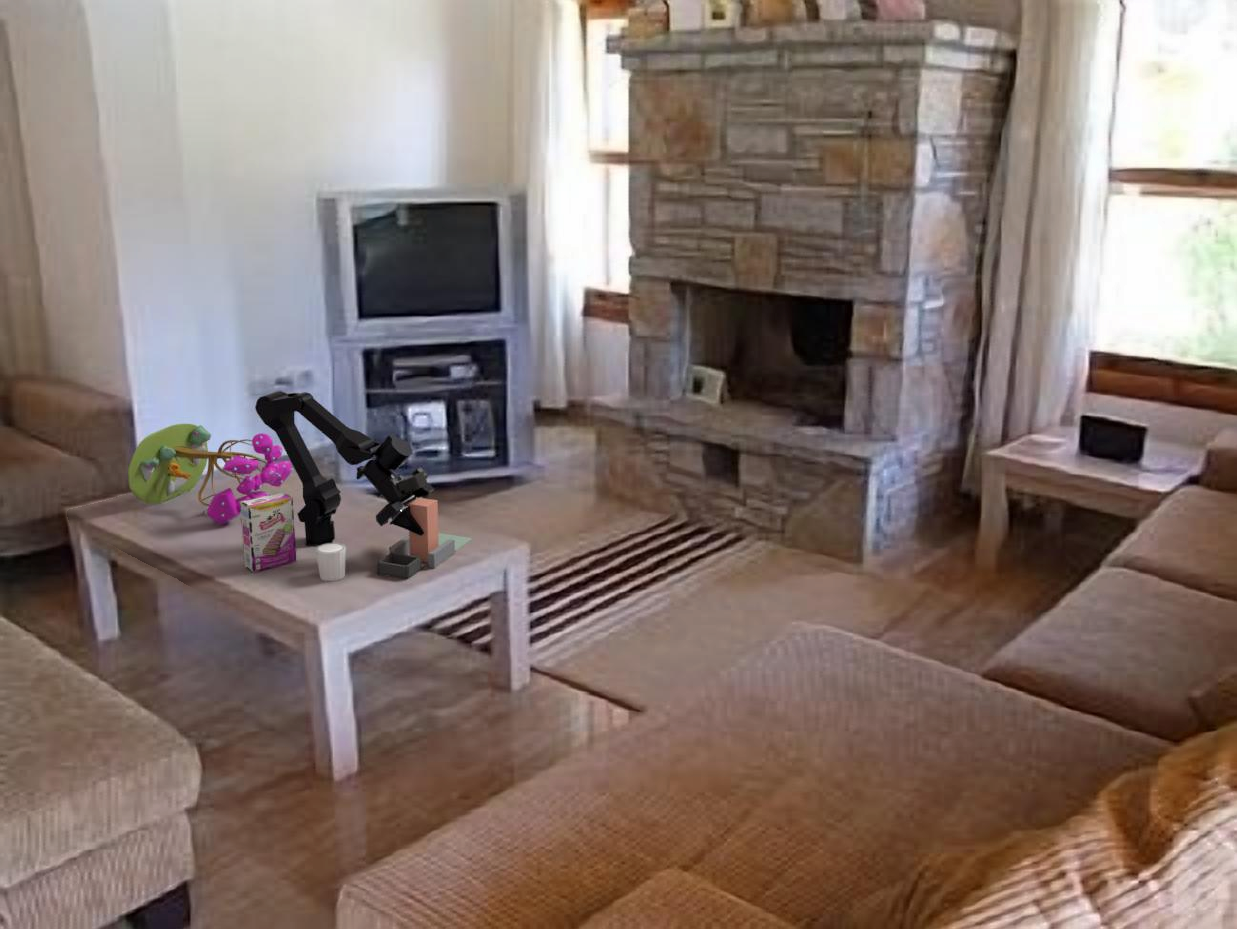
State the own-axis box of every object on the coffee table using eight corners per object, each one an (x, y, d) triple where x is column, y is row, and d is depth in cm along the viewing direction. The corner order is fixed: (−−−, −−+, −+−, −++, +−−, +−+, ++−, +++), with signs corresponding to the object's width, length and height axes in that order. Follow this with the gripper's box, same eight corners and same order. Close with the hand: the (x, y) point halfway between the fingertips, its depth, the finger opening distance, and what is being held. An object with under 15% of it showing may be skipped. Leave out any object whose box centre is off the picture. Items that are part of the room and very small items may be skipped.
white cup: (319, 570, 269) (317, 542, 267) (349, 570, 270) (347, 541, 268) (314, 582, 263) (312, 553, 261) (345, 581, 263) (343, 552, 261)
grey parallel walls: (389, 561, 275) (389, 547, 274) (411, 547, 284) (410, 533, 283) (434, 568, 271) (434, 554, 270) (454, 553, 280) (454, 540, 279)
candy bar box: (254, 574, 267) (248, 506, 262) (244, 567, 271) (238, 501, 266) (298, 561, 275) (293, 496, 270) (288, 556, 278) (282, 491, 273)
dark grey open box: (377, 574, 268) (376, 562, 267) (392, 564, 273) (391, 552, 273) (407, 579, 265) (407, 566, 264) (422, 569, 271) (421, 557, 270)
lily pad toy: (199, 384, 316) (299, 417, 303) (217, 470, 333) (313, 505, 319) (112, 437, 294) (217, 475, 281) (136, 526, 310) (236, 566, 297)
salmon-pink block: (410, 559, 276) (408, 503, 272) (420, 552, 281) (418, 497, 277) (428, 562, 274) (427, 506, 270) (438, 555, 279) (437, 500, 275)
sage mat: (419, 545, 285) (419, 545, 285) (437, 533, 293) (437, 533, 293) (455, 551, 282) (455, 550, 282) (472, 538, 290) (472, 538, 290)
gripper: (384, 471, 263) (429, 523, 263) (425, 450, 280) (467, 498, 280) (356, 500, 268) (400, 551, 268) (398, 477, 285) (439, 525, 285)
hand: (428, 530), depth 275 cm, fingers closed on salmon-pink block, 5 cm apart
